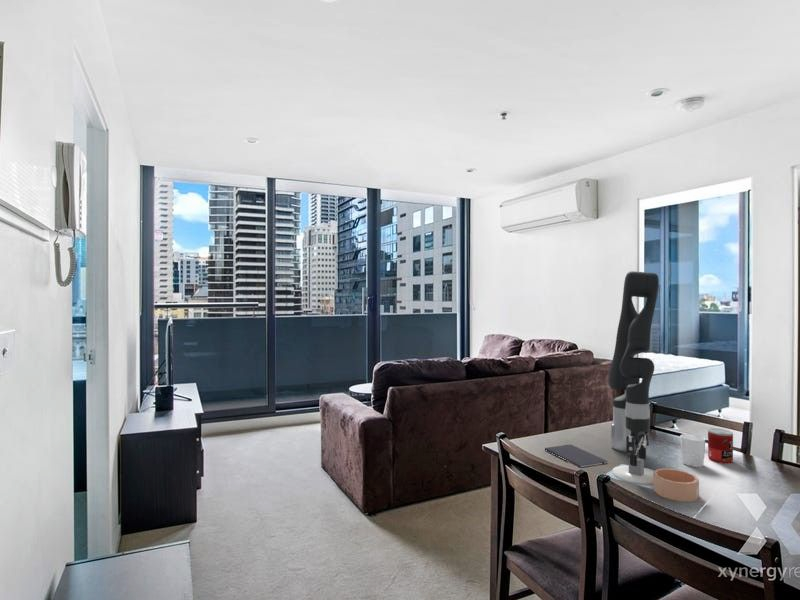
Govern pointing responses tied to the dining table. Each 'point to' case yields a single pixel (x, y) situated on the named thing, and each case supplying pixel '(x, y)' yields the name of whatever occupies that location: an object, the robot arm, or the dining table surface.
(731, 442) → the canned food
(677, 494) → the bowl
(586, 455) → the notebook
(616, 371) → the robot arm
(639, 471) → the lid
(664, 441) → the dining table surface
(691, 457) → the white cup
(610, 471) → the mat
